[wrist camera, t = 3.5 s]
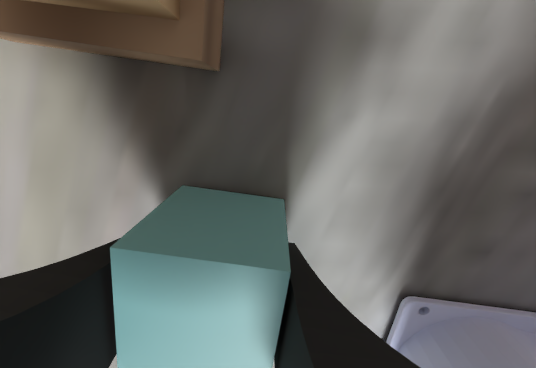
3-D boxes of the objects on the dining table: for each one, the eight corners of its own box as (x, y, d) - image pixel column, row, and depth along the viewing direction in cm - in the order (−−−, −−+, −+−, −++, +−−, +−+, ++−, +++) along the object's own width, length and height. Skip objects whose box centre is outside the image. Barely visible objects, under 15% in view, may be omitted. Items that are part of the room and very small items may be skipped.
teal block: (284, 199, 11) (290, 272, 6) (270, 283, 12) (266, 396, 8) (182, 185, 11) (109, 247, 6) (179, 271, 12) (118, 376, 7)
